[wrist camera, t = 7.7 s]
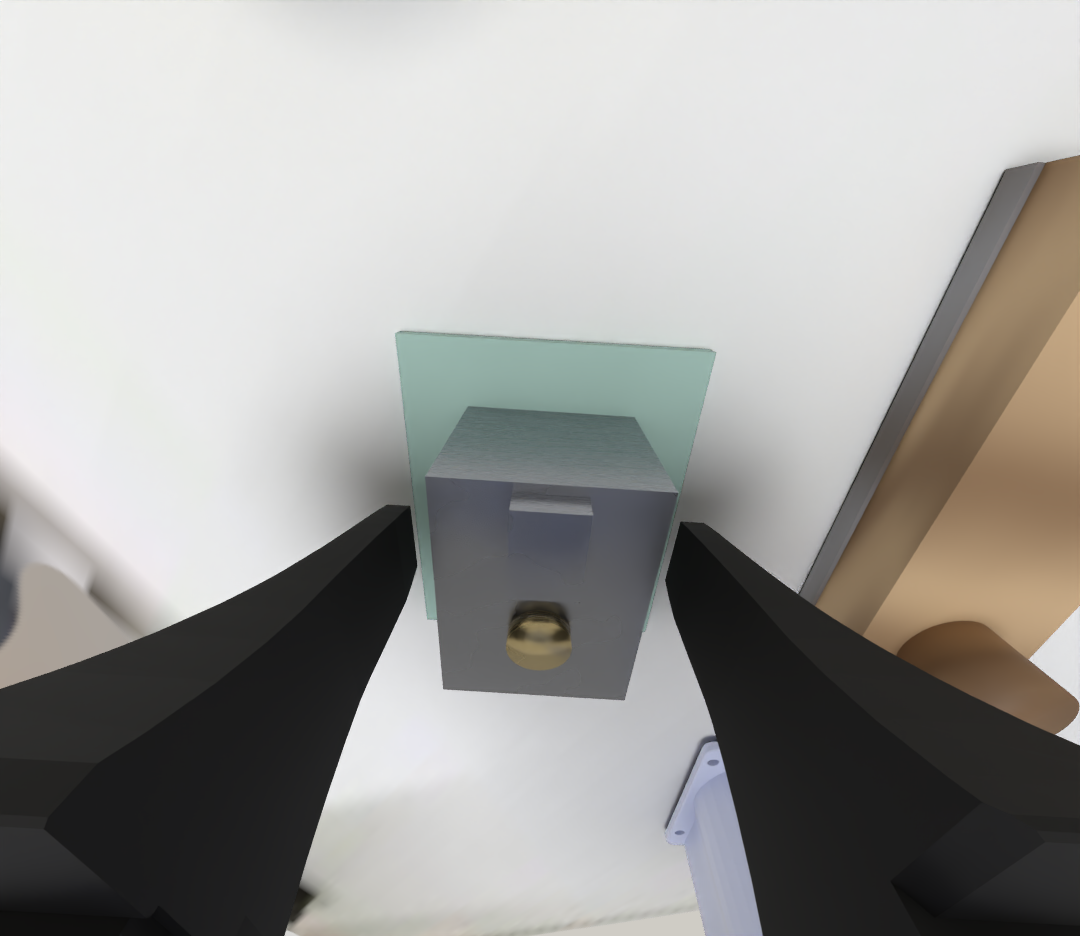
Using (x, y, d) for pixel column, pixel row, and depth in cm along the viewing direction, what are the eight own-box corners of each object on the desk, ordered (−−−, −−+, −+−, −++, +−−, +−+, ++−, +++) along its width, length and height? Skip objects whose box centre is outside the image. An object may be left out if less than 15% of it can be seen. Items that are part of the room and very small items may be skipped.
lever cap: (604, 583, 13) (628, 725, 9) (472, 575, 13) (436, 713, 9) (634, 416, 10) (689, 511, 6) (467, 406, 10) (414, 493, 6)
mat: (642, 622, 14) (644, 631, 14) (430, 610, 14) (427, 619, 14) (710, 349, 10) (716, 352, 10) (400, 331, 10) (395, 333, 10)
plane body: (927, 639, 15) (1066, 775, 11) (781, 631, 14) (867, 764, 11) (1265, 184, 8) (1926, 104, 4) (1005, 170, 8) (1431, 73, 4)
